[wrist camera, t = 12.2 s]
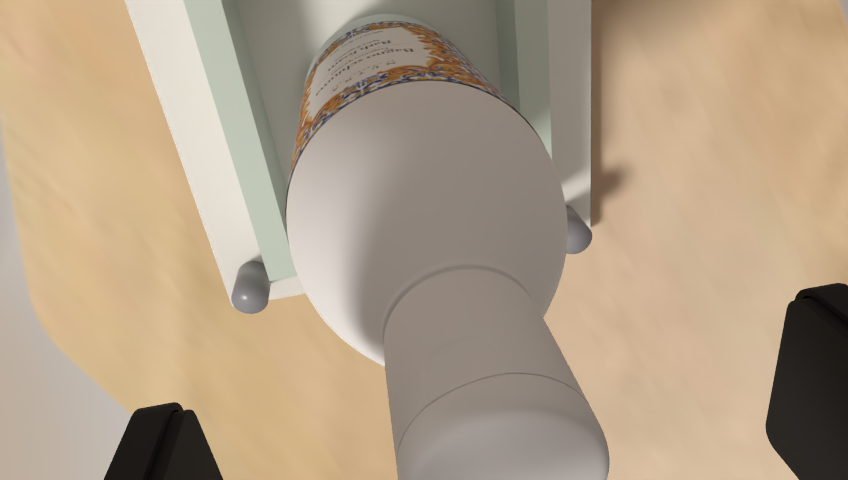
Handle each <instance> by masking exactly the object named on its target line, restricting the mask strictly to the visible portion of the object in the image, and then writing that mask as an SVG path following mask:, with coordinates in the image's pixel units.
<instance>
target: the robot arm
mask: <svg viewBox="0 0 848 480" xmlns="http://www.w3.org/2000/svg"><path fill="white" fill-rule="evenodd" d="M766 433H767V436H768V439H769V441H770V443H771V445H772V446H773V448H774V449H775V451H776V452H777V453H778V454H779V455H780V457H781V458H782V459H783V460H784V462H785V463H786V464H787V465H788V466H789V468H790V469H791V470H792V471H793V473H794V474H795V475H796V476H797V477H798V479H799V480H848V286H847V285H845V284H841V283H835V284H830V285H824V286H819V287H813V288H808V289H804V290H801V291H800V292H799V293H798V294H797V295H796V298H795V300H794V301H791V302H790V303H789V305H788V307H787V311H786V317H785V322H784V328H783V333H782V338H781V344H780V349H779V355H778V360H777V366H776V371H775V376H774V382H773V387H772V393H771V398H770V404H769V409H768V414H767V420H766ZM104 480H223V478H222V476H221V473H220V471H219V468H218V466H217V464H216V461H215V459H214V457H213V454H212V452H211V450H210V447H209V445H208V442H207V440H206V438H205V435H204V433H203V431H202V428H201V426H200V423H199V421H198V419H197V416H196V414H195V413H194V411H192V410H183V408H182V407H181V405H180V404H178V403H175V402H173V403H168V404H162V405H157V406H151V407H146V408H140V409H137V410H136V411H135V412H134V413H133V415H132V416H131V419H130V421H129V423H128V425H127V428H126V430H125V432H124V435H123V437H122V439H121V441H120V444H119V446H118V448H117V450H116V453H115V455H114V457H113V460H112V462H111V464H110V467H109V469H108V471H107V473H106V476H105V478H104Z"/></svg>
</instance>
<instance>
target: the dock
mask: <svg viewBox="0 0 848 480" xmlns="http://www.w3.org/2000/svg"><path fill="white" fill-rule="evenodd" d="M125 3H126V6H127V8H128V11H129V14H130V17H131V20H132V23H133V26H134V28H135V31H136V34H137V37H138V40H139V43H140V45H141V48H142V51H143V54H144V57H145V60H146V63H147V65H148V68H149V71H150V74H151V77H152V80H153V83H154V85H155V88H156V91H157V94H158V97H159V100H160V102H161V105H162V108H163V111H164V114H165V117H166V120H167V122H168V125H169V128H170V131H171V134H172V137H173V139H174V142H175V145H176V148H177V151H178V154H179V157H180V159H181V162H182V165H183V168H184V171H185V174H186V177H187V179H188V182H189V185H190V188H191V191H192V194H193V196H194V199H195V202H196V205H197V208H198V211H199V214H200V216H201V219H202V222H203V225H204V228H205V231H206V233H207V236H208V239H209V242H210V245H211V248H212V251H213V253H214V256H215V259H216V262H217V265H218V268H219V270H220V273H221V276H222V279H223V282H224V285H225V288H226V290H227V293H228V296H229V299H230V302H231V305H232V307H235V308H236V309H238V310H239V311H241V312H243V313H247V314H253V313H258V312H260V311H262V310H263V309H264V308H265V307H266V306H267V304H268V300H273V299H278V298H284V297H289V296H295V295H300V294H305V293H306V292H305V290H304V288H303V286H302V284H301V282H300V279H299V277H298V275H297V272H296V269H295V266H294V263H293V259H292V256H291V252H290V247H289V242H288V235H287V227H286V216H285V206H286V195H287V189H288V183H289V176H290V170H291V164H292V158H293V151H294V145H295V139H296V133H297V127H298V120H299V114H300V108H301V102H302V95H303V91H304V86H305V81H306V77H307V74H308V71H309V68H310V65H311V63H312V61H313V59H314V57H315V55H316V54H317V52H318V51H319V49H320V48H321V47H322V45H323V44H324V43H325V42H326V41H327V40H328V39H329V38H330V37H331V36H332V35H333V34H334V33H335V32H337V31H338V30H339V29H341V28H342V27H344V26H345V25H347V24H349V23H351V22H353V21H355V20H358V19H361V18H364V17H368V16H372V15H379V14H397V15H404V16H408V17H412V18H415V19H418V20H420V21H422V22H425V23H426V24H428V25H430V26H432V27H433V28H435V29H436V30H438V31H439V32H440V33H442V34H443V35H444V36H445V37H446V38H447V39H448V40H449V41H450V42H451V43H452V44H454V45H455V46H456V47H457V48H458V49H459V50H460V52H461V53H462V54H463V55H464V56H465V57H466V58H467V59H468V60H469V61H470V62H471V63H472V64H473V65H474V66H475V67H476V68H477V69H478V70H479V71H480V72H481V73H482V74H483V75H484V76H485V77H486V78H487V80H488V81H489V82H490V83H491V84H492V85H493V86H494V87H495V88H496V89H497V90H498V91H499V92H500V93H501V94H502V95H503V96H504V97H505V98H506V99H507V100H508V101H509V102H510V103H511V104H512V105H513V106H514V107H515V109H516V110H517V111H518V112H519V113H520V114H521V115H522V116H523V117H524V118H525V119H526V120H527V121H528V122H529V123H530V125H531V126H532V127H533V128H534V130H535V131H536V132H537V134H538V135H539V137H540V139H541V140H542V142H543V144H544V146H545V148H546V150H547V152H548V153H549V155H550V158H551V160H552V162H553V164H554V166H555V169H556V171H557V174H558V177H559V180H560V183H561V186H562V190H563V194H564V199H565V205H566V211H567V222H568V240H567V250H566V253H567V254H577V253H580V252H582V251H583V250H585V249H586V248H587V247H588V246H589V244H590V242H591V240H592V232H591V230H590V209H591V0H125Z"/></svg>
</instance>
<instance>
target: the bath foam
mask: <svg viewBox="0 0 848 480" xmlns="http://www.w3.org/2000/svg"><path fill="white" fill-rule="evenodd" d="M285 216H286V227H287V235H288V242H289V247H290V252H291V256H292V259H293V263H294V266H295V269H296V272H297V275H298V277H299V279H300V282H301V284H302V286H303V288H304V290H305V292H306V294H307V296H308V298H309V299H310V301H311V303H312V304H313V306H314V307H315V309H316V310H317V312H318V313H319V315H320V316H321V317H322V319H323V320H324V321H325V322H326V323H327V324H328V326H329V327H330V328H331V329H332V330H333V331H334V332H335V333H336V334H337V335H338V336H339V337H340V338H342V339H343V340H344V341H345V342H346V343H348V344H349V345H350V346H352V347H353V348H354V349H356V350H357V351H358V352H360V353H361V354H363V355H365V356H366V357H368V358H370V359H371V360H373V361H375V362H377V363H379V364H380V365H382V366H384V367H385V371H386V380H387V389H388V398H389V406H390V415H391V423H392V431H393V440H394V448H395V456H396V465H397V473H398V480H607V476H608V472H609V451H608V446H607V442H606V439H605V436H604V433H603V431H602V429H601V426H600V424H599V422H598V420H597V418H596V416H595V415H594V413H593V411H592V409H591V407H590V405H589V403H588V401H587V399H586V398H585V396H584V394H583V392H582V390H581V388H580V386H579V384H578V382H577V381H576V379H575V377H574V375H573V373H572V371H571V369H570V367H569V365H568V364H567V362H566V360H565V358H564V356H563V354H562V352H561V350H560V349H559V347H558V345H557V343H556V341H555V339H554V337H553V335H552V334H551V332H550V330H549V328H548V326H547V324H546V323H545V321H544V319H543V317H544V315H545V313H546V311H547V309H548V307H549V305H550V303H551V301H552V299H553V297H554V294H555V292H556V289H557V287H558V284H559V281H560V278H561V274H562V271H563V267H564V262H565V256H566V250H567V240H568V222H567V211H566V205H565V199H564V194H563V190H562V186H561V183H560V180H559V177H558V174H557V171H556V169H555V166H554V164H553V162H552V160H551V158H550V155H549V153H548V152H547V150H546V148H545V146H544V144H543V142H542V140H541V139H540V137H539V135H538V134H537V132H536V131H535V130H534V128H533V127H532V126H531V125H530V123H529V122H528V121H527V120H526V119H525V118H524V117H523V116H522V115H521V114H520V113H519V112H518V111H517V110H516V109H515V107H514V106H513V105H512V104H511V103H510V102H509V101H508V100H507V99H506V98H505V97H504V96H503V95H502V94H501V93H500V92H499V91H498V90H497V89H496V88H495V87H494V86H493V85H492V84H491V83H490V82H489V81H488V80H487V78H486V77H485V76H484V75H483V74H482V73H481V72H480V71H479V70H478V69H477V68H476V67H475V66H474V65H473V64H472V63H471V62H470V61H469V60H468V59H467V58H466V57H465V56H464V55H463V54H462V53H461V52H460V50H459V49H458V48H457V47H456V46H455V45H454V44H452V43H451V42H450V41H449V40H448V39H447V38H446V37H445V36H444V35H443V34H442V33H440V32H439V31H438V30H436V29H435V28H433V27H432V26H430V25H428V24H426V23H425V22H422V21H420V20H418V19H415V18H412V17H408V16H404V15H397V14H379V15H372V16H368V17H364V18H361V19H358V20H355V21H353V22H351V23H349V24H347V25H345V26H344V27H342V28H341V29H339V30H338V31H337V32H335V33H334V34H333V35H332V36H331V37H330V38H329V39H328V40H327V41H326V42H325V43H324V44H323V45H322V47H321V48H320V49H319V51H318V52H317V54H316V55H315V57H314V59H313V61H312V63H311V65H310V68H309V71H308V74H307V77H306V81H305V86H304V91H303V95H302V102H301V108H300V114H299V120H298V127H297V133H296V139H295V145H294V151H293V158H292V164H291V170H290V176H289V183H288V189H287V195H286V206H285Z"/></svg>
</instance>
